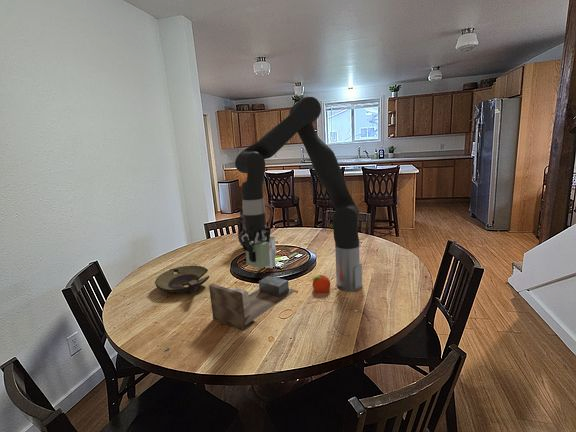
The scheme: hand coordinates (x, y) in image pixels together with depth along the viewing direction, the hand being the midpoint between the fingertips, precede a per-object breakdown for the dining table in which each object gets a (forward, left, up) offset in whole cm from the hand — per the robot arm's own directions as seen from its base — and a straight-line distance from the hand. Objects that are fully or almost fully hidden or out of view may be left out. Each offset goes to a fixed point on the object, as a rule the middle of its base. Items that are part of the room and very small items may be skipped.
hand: (258, 259), depth 111 cm
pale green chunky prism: (0, 0, -2) cm, 2 cm away
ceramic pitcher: (+50, -52, -19) cm, 74 cm away
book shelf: (+3, 0, -19) cm, 19 cm away
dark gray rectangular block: (+3, -10, -17) cm, 20 cm away
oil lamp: (+41, +5, -19) cm, 45 cm away
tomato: (-12, -20, -19) cm, 30 cm away
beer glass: (+22, -30, -19) cm, 42 cm away
